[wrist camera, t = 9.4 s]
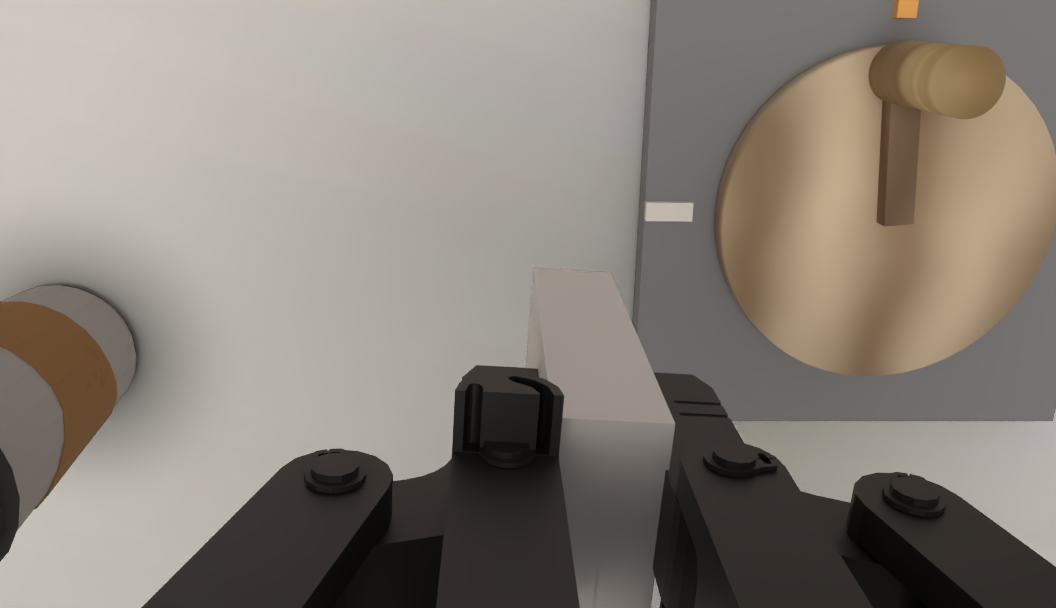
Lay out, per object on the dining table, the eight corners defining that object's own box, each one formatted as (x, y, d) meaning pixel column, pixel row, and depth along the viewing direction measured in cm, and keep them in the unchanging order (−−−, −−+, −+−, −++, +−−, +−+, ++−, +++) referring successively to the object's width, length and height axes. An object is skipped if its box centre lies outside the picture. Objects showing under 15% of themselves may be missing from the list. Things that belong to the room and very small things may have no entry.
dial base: (1034, 407, 43) (1057, 424, 41) (628, 406, 42) (633, 424, 40) (1129, -30, 36) (1162, -32, 35) (653, -38, 36) (661, -41, 34)
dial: (716, 375, 40) (759, 448, 33) (712, 53, 35) (761, 63, 29) (1021, 349, 40) (1124, 417, 33) (1056, 24, 35) (1184, 27, 29)
